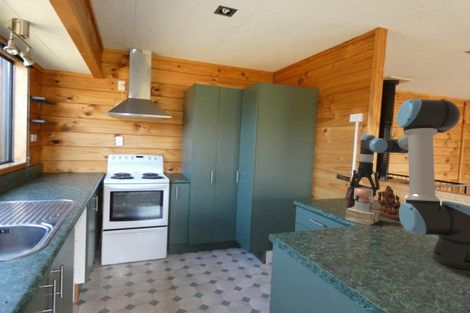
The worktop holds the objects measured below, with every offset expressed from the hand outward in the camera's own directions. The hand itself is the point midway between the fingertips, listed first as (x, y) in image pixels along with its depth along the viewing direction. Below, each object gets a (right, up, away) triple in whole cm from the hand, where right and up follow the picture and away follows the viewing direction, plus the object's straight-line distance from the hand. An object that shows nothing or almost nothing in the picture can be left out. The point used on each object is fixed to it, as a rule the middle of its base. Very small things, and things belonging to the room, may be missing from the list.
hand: (363, 200), depth 167 cm
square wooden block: (-1, -12, +1) cm, 12 cm away
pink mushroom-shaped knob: (0, -2, 0) cm, 2 cm away
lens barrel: (0, -6, 0) cm, 6 cm away
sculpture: (+20, -12, +10) cm, 26 cm away
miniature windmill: (+6, -10, +29) cm, 31 cm away
